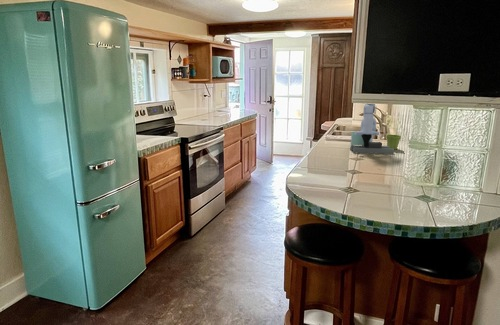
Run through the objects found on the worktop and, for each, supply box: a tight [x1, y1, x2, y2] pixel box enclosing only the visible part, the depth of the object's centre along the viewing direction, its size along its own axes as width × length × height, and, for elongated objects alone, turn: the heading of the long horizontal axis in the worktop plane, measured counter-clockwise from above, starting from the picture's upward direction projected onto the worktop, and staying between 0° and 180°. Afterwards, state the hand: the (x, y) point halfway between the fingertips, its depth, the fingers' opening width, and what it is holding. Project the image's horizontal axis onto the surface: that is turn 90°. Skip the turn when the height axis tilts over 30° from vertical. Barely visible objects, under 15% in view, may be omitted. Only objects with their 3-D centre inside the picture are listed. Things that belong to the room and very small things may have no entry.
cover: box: [350, 131, 370, 146], centre depth 216 cm, size 8×12×1 cm
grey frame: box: [349, 144, 395, 155], centre depth 213 cm, size 11×24×6 cm, turn 89°
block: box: [366, 141, 383, 148], centre depth 212 cm, size 4×8×6 cm, turn 89°
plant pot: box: [385, 134, 402, 150], centre depth 222 cm, size 9×9×9 cm
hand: (365, 146), depth 212 cm, fingers closed
